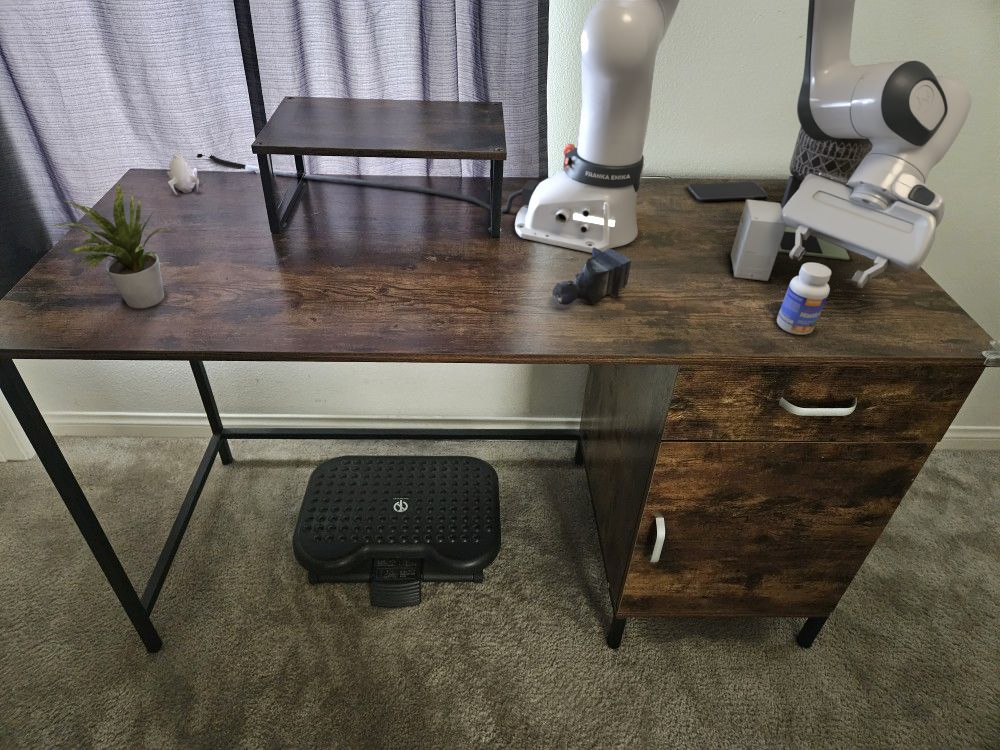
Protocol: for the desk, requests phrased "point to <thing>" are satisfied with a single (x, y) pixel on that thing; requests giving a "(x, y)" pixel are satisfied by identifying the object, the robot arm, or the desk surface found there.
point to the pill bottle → (805, 299)
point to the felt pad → (812, 246)
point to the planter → (823, 159)
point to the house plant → (124, 253)
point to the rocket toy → (182, 175)
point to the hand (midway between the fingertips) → (824, 271)
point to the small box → (757, 240)
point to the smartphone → (727, 191)
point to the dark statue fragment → (595, 278)
